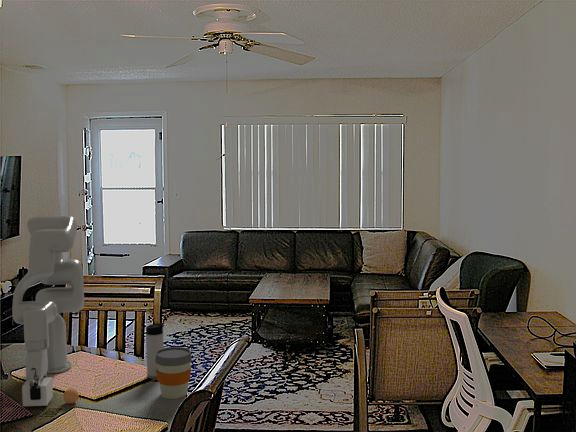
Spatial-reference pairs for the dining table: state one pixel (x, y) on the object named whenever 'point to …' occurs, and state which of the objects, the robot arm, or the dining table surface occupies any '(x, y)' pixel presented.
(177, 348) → the reusable coffee cup
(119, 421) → the dining table surface
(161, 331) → the travel mug
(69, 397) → the ball
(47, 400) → the white block
